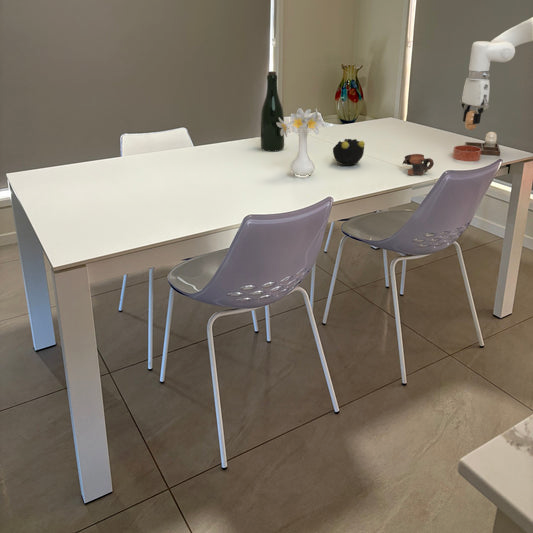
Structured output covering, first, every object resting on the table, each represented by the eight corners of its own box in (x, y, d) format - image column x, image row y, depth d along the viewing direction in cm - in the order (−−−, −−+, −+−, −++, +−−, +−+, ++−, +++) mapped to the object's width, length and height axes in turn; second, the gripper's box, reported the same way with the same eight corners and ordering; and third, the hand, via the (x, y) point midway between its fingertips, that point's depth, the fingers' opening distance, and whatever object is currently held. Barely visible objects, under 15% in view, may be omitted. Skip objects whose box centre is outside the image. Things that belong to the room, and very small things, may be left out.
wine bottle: (259, 151, 258) (258, 73, 243) (261, 146, 267) (260, 70, 253) (283, 152, 257) (284, 73, 243) (284, 146, 266) (284, 69, 252)
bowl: (479, 156, 247) (481, 146, 245) (480, 163, 237) (482, 152, 235) (452, 155, 249) (453, 144, 248) (452, 162, 240) (453, 151, 238)
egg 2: (494, 148, 257) (497, 130, 253) (495, 151, 253) (498, 133, 249) (483, 148, 258) (486, 130, 254) (483, 150, 254) (486, 132, 250)
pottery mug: (400, 176, 224) (399, 154, 225) (407, 181, 233) (406, 160, 233) (431, 171, 218) (430, 150, 219) (438, 177, 227) (437, 156, 227)
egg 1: (475, 128, 240) (478, 109, 236) (476, 131, 236) (479, 111, 232) (464, 128, 241) (466, 108, 238) (464, 130, 237) (466, 111, 234)
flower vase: (271, 177, 223) (271, 110, 212) (308, 168, 233) (310, 104, 222) (293, 185, 214) (294, 115, 203) (331, 175, 224) (333, 109, 213)
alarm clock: (360, 169, 244) (376, 139, 235) (344, 179, 233) (360, 148, 224) (337, 154, 247) (352, 123, 238) (320, 163, 236) (336, 131, 227)
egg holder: (497, 149, 258) (498, 143, 257) (499, 157, 246) (500, 151, 245) (464, 147, 261) (465, 141, 260) (464, 155, 249) (465, 149, 248)
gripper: (502, 77, 224) (494, 125, 232) (468, 72, 238) (462, 117, 245) (488, 78, 221) (480, 127, 229) (454, 73, 234) (448, 119, 242)
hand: (471, 121), depth 237 cm, fingers closed on egg 1, 4 cm apart
